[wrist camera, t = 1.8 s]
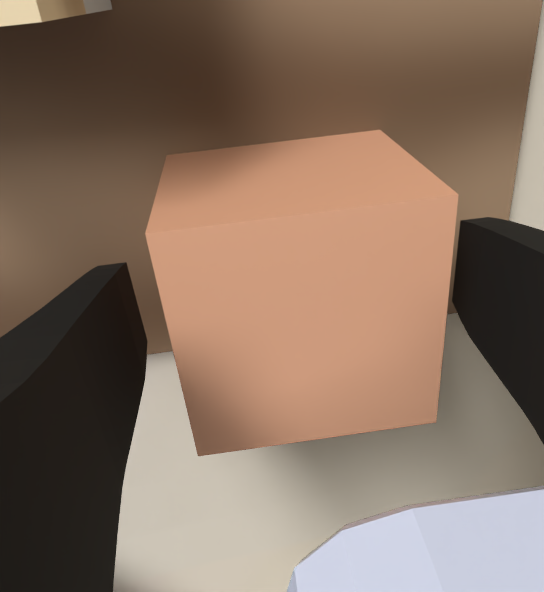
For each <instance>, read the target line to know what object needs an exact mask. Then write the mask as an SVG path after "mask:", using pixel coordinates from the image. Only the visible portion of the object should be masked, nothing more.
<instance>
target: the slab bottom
mask: <svg viewBox="0 0 544 592" xmlns="http://www.w3.org/2000/svg"><path fill="white" fill-rule="evenodd" d="M83 2H84V6H85V10H86V14H89V13H95V12H100V11H106V10H111V9H112V5H111V1H110V0H83Z"/></svg>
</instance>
